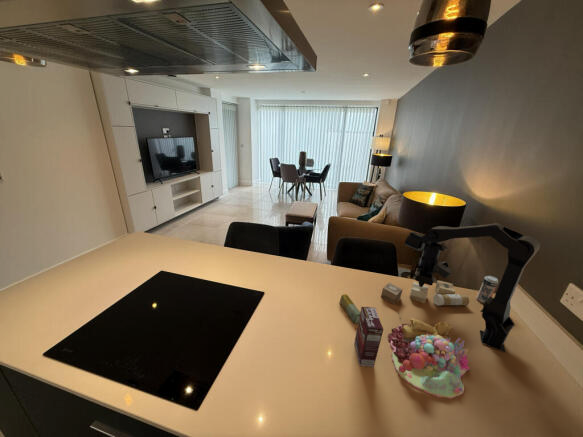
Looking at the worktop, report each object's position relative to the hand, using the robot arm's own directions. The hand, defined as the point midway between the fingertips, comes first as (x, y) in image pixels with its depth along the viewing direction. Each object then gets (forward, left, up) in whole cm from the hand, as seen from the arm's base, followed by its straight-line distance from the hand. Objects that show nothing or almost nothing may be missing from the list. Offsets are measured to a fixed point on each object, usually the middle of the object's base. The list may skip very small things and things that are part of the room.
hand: (420, 286), depth 101 cm
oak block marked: (+9, -10, -6) cm, 15 cm away
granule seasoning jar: (+7, -18, -3) cm, 20 cm away
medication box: (-27, +22, -6) cm, 36 cm away
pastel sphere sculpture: (-32, -6, -6) cm, 33 cm away
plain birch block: (0, 0, -6) cm, 6 cm away
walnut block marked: (-8, +10, -6) cm, 14 cm away
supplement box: (-43, +12, -6) cm, 45 cm away
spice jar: (+15, -25, -6) cm, 30 cm away
